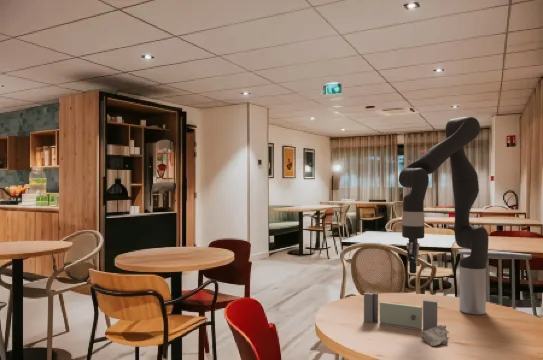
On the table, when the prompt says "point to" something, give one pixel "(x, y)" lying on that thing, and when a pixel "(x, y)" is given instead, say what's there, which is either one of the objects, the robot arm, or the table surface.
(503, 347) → the table surface
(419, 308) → the door
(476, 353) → the table surface
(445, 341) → the stone
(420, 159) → the robot arm
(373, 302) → the door frame
